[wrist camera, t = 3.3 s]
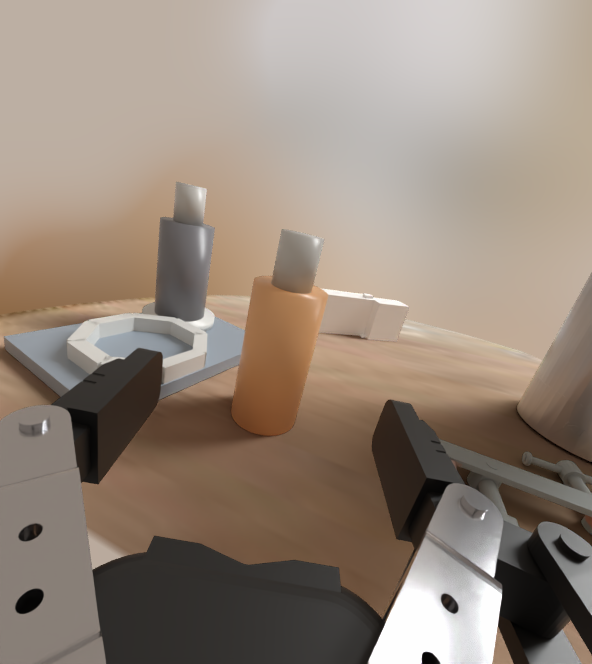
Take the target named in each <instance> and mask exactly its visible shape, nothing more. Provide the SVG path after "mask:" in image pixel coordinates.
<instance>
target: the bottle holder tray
mask: <svg viewBox="0 0 592 664" xmlns="http://www.w3.org/2000/svg"><path fill="white" fill-rule="evenodd" d="M206 192H207V189H205V188H201V187H197V186H193V185H188V184H184V183H179V182H176V191H175V204H174V217H173V218H169V217H161V218H160V232H159V247H158V263H157V279H156V295H155V302H153V303H150V304H148V305H146V306H144V307H143V309H142V313H133V314H132V313H126V314H120V315H114V316H108V317H102V318H96V319H90V320H88V321H85V322H84V323H80V324H74V325H68V326H62V327H56V328H51V329H45V330H39V331H33V332H27V333H22V334H16V335H10V336H4V343H5V350H6V351H7V352H9V353H10V354H11V355H12V356H13V357H14V358H16V359H17V360H18V361H19V362H20V363H22V364H23V365H24V366H25V367H26V368H27V369H29V370H30V371H31V372H32V373H33V374H34V375H36V376H37V377H38V378H39V379H40V380H42V381H43V382H44V383H45V384H46V385H47V386H49V387H50V388H51V389H52V390H53V391H54V392H56V393H57V394H58V395H59V396H60V397H62V396H63V395H64V394H65V393H67V392H68V391H69V390H71V389H72V388H73V387H74V386H76V385H77V384H78V383H80V382H81V381H82V382H83V379H85V378H86V377H87V376H89V375H90V374H92V372H94V371H95V370H96V369H97V368H99V367H100V366H101V365H103V364H105V363H107V362H110V361H113V360H115V359H118V358H120V359H125V358H126V357H127V356H129V355H130V354H131V353H132V352H133V351H134V350H136V349H137V348H144V349H149V350H153V351H158V352H161V353H162V354H163V365H162V379H161V391H160V396H159V400H160V399H162V398H164V397H167V396H169V395H171V394H173V393H176V392H178V391H180V390H182V389H185V388H187V387H189V386H192V385H194V384H196V383H198V382H201V381H203V380H205V379H207V378H210V377H212V376H214V375H216V374H219V373H221V372H223V371H225V370H228V369H230V368H232V367H234V366H237V365H239V362H240V356H241V351H242V345H243V339H244V334H245V330H243V329H240V328H238V327H236V326H234V325H232V324H230V323H228V322H226V321H223V320H221V319H219V318H217V317H215V316H214V314H213V313H212V312H211V311H210V310H209V309H207V308H205V303H206V295H207V287H208V279H209V270H210V261H211V254H212V246H213V238H214V229H215V228H214V227H212V226H209V225H206V224H203V218H204V210H205V201H206Z"/></svg>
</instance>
